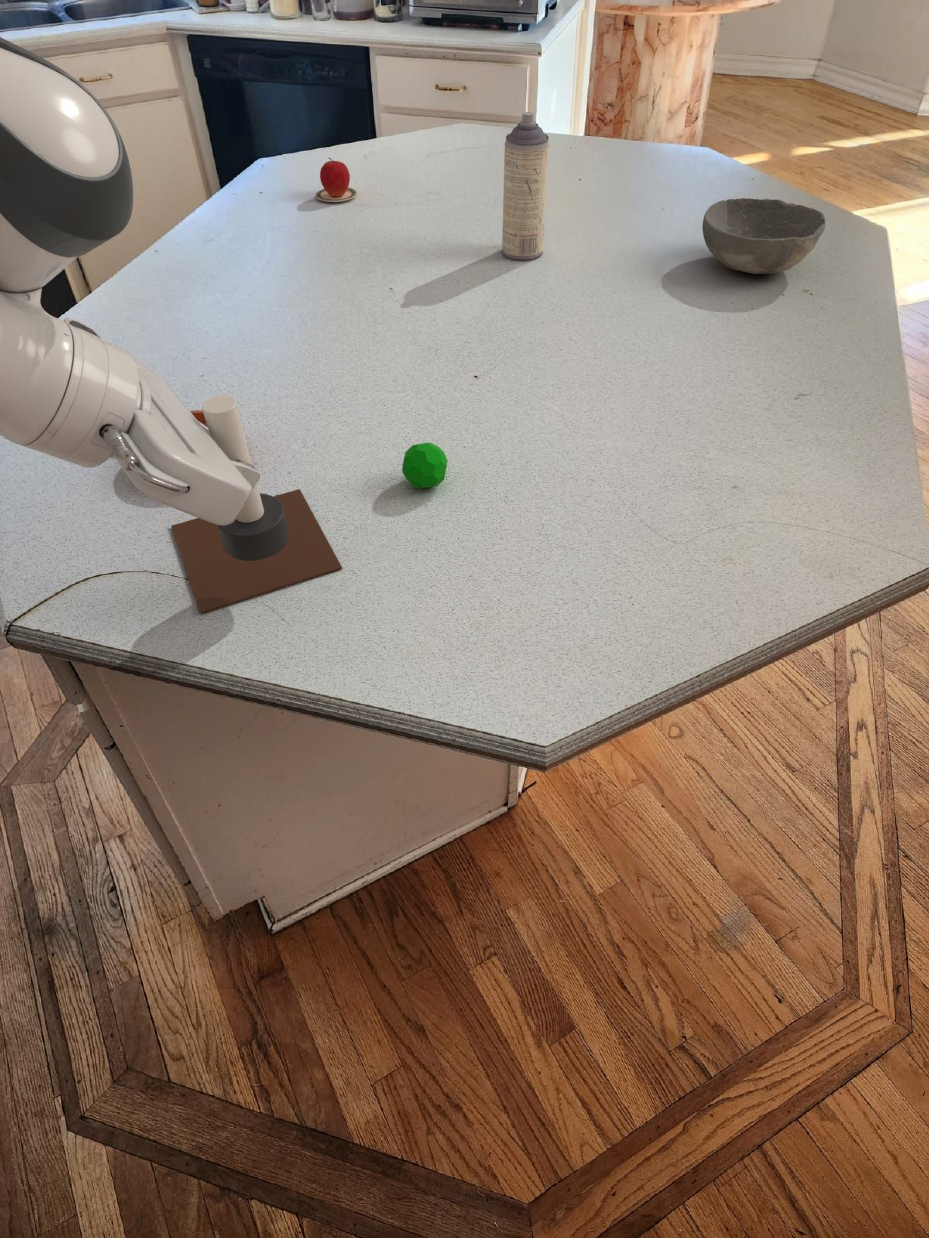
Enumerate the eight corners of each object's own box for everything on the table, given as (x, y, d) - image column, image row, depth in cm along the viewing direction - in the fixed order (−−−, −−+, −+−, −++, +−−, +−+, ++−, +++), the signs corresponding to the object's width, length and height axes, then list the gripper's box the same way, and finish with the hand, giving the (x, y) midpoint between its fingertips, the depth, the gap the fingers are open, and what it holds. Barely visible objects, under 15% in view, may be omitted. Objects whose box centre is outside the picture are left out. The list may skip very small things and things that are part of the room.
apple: (323, 188, 150) (318, 151, 145) (362, 191, 148) (358, 153, 144) (310, 203, 144) (304, 164, 139) (350, 205, 143) (345, 167, 138)
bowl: (671, 258, 125) (681, 206, 119) (752, 237, 130) (765, 186, 124) (748, 300, 114) (763, 245, 108) (833, 276, 119) (851, 222, 114)
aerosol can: (551, 253, 127) (560, 113, 112) (522, 264, 124) (528, 123, 109) (521, 241, 130) (527, 105, 116) (493, 252, 127) (495, 113, 113)
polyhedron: (455, 476, 85) (454, 440, 81) (437, 501, 82) (435, 465, 78) (415, 466, 86) (412, 430, 83) (395, 490, 83) (392, 454, 80)
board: (200, 614, 71) (200, 612, 71) (171, 527, 79) (171, 525, 79) (342, 569, 75) (341, 566, 75) (300, 491, 83) (299, 488, 83)
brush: (232, 569, 67) (188, 433, 56) (216, 529, 70) (172, 395, 60) (297, 548, 69) (266, 413, 58) (278, 511, 72) (246, 377, 62)
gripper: (153, 431, 46) (319, 499, 57) (63, 308, 58) (216, 384, 69) (107, 514, 48) (277, 565, 59) (28, 378, 60) (182, 442, 70)
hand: (243, 467), depth 64 cm, fingers closed on brush, 2 cm apart
